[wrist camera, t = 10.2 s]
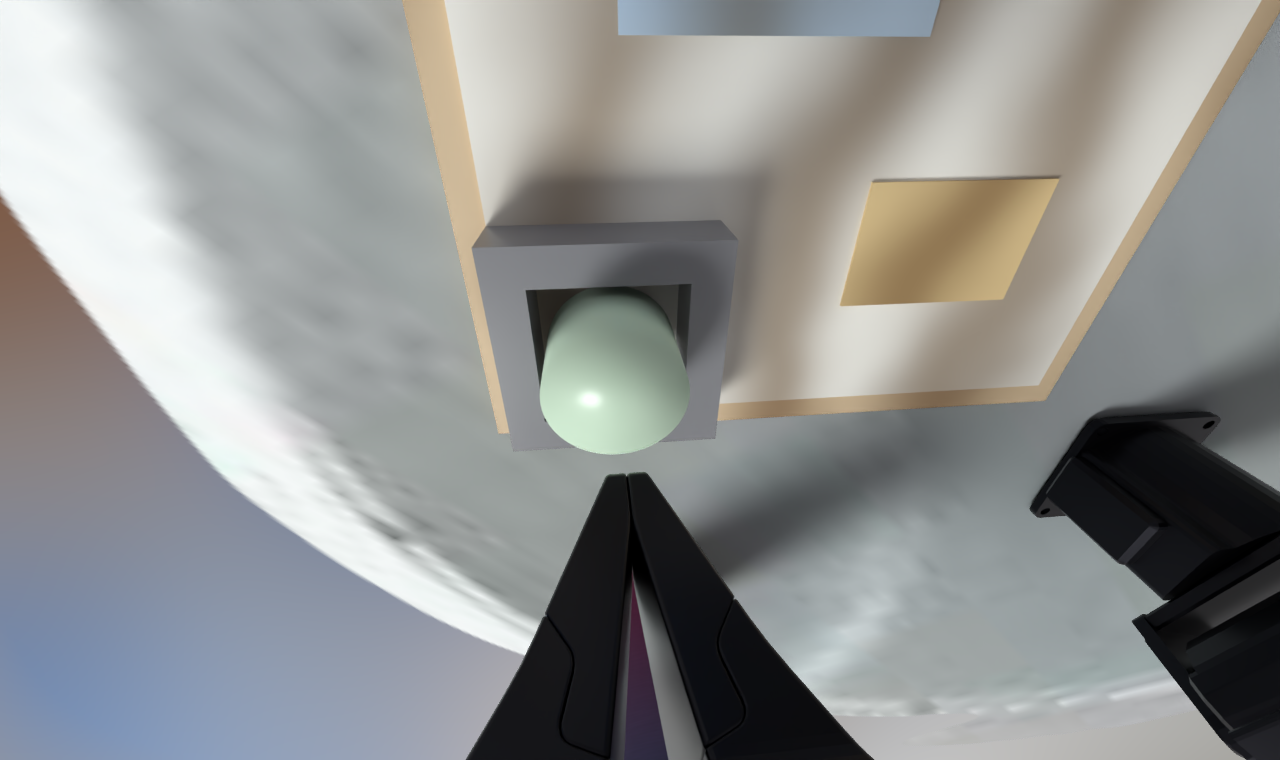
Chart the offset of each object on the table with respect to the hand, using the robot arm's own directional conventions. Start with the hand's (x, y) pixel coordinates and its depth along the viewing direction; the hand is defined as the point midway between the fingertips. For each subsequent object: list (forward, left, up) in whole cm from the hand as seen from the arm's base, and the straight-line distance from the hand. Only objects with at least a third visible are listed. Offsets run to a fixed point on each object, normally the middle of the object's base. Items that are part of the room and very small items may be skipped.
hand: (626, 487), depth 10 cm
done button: (0, 0, -6) cm, 6 cm away
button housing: (0, 0, -7) cm, 7 cm away
